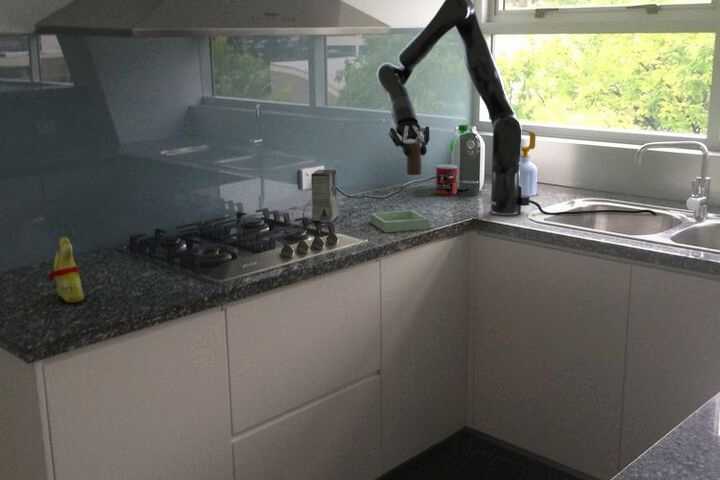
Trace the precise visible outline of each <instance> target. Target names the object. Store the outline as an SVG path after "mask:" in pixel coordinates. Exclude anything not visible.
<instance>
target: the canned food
mask: <svg viewBox="0 0 720 480" xmlns="http://www.w3.org/2000/svg"><path fill="white" fill-rule="evenodd" d="M435 167H436V169H435V170H436V172H435V173H436V177H435V178H436V179H435V184H436V185H435V193H436V195H437V196H440V197H453V196H456V195H457V192H458V190H457V189H456V187H457V182H456V175H457V166H455V165H453V163H442V164H436V166H435Z"/></svg>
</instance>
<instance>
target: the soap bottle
mask: <svg viewBox="0 0 720 480" xmlns="http://www.w3.org/2000/svg"><path fill="white" fill-rule="evenodd" d="M522 132H525V133H527V134H529V145H528V146H521V152H522V154H521V156H520V178H519V185H521V186H522V191H521V195H525V196H527V197H534V196H536V195H537V187H538V186H537V185H538V184H537V182H538V168H537V167H538V166H536V164H534V163H532V161H531V155H530V154H529V152H530V150H534V149H535V148H536V138H537V137H536V133H534V132H533V131H528V130H526V129H522Z"/></svg>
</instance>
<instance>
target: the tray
mask: <svg viewBox="0 0 720 480" xmlns="http://www.w3.org/2000/svg"><path fill="white" fill-rule="evenodd" d="M369 216H370V217H369V218H370V221H369V222H370V224H372V225H373V226H375V227H376V228H377V229H379V230H381V231H382V232H384V233H394V232H405V231H419V230H429V229H430V219H429V218H428V217H426V216H424V215H422V214H420V213H418V212H417V211H415V210H413V209H407V210H397V211H383V212H371V213H370V215H369Z"/></svg>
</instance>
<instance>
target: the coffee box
mask: <svg viewBox="0 0 720 480" xmlns="http://www.w3.org/2000/svg"><path fill="white" fill-rule="evenodd" d="M310 174H311V208H312V221H313V220H316V219H318V220H320V221H321V222H320V223H332V222H333V221H334V220H335V219H336V218H337V217H338V201H337V200H338V199H337V198H338V197H337V195H338V194H337V169H318V170H315V171H314V172H312V173H310Z"/></svg>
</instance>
